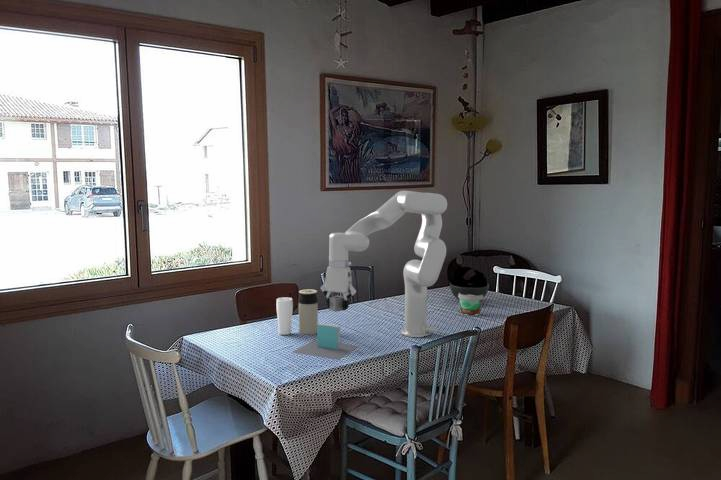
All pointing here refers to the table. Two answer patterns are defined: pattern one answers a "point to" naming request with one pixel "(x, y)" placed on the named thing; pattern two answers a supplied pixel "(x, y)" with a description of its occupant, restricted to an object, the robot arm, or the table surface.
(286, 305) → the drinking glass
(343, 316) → the table surface
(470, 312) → the food container
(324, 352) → the mat
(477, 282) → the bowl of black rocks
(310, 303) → the travel mug
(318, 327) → the tile
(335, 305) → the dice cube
